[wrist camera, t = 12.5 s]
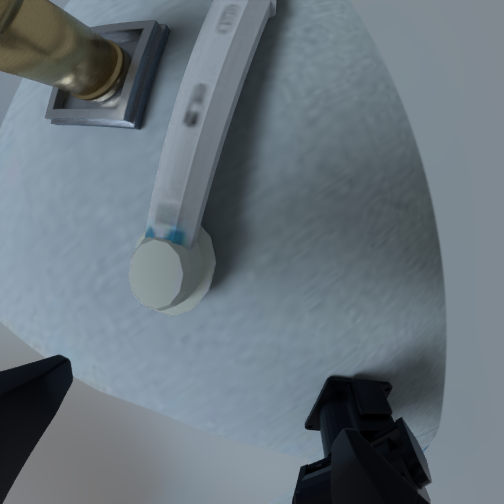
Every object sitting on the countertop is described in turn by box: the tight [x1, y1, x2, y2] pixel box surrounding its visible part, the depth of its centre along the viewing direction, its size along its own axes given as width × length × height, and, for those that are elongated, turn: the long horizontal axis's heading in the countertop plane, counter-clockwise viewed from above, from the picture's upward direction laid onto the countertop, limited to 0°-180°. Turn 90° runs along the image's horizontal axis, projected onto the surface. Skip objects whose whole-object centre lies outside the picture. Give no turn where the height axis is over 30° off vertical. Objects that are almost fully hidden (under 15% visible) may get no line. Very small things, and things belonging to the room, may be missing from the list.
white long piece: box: [128, 0, 277, 316], centre depth 16 cm, size 5×7×25 cm
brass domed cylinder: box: [0, 0, 130, 103], centre depth 10 cm, size 5×5×13 cm
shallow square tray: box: [45, 20, 170, 130], centre depth 16 cm, size 8×8×2 cm
